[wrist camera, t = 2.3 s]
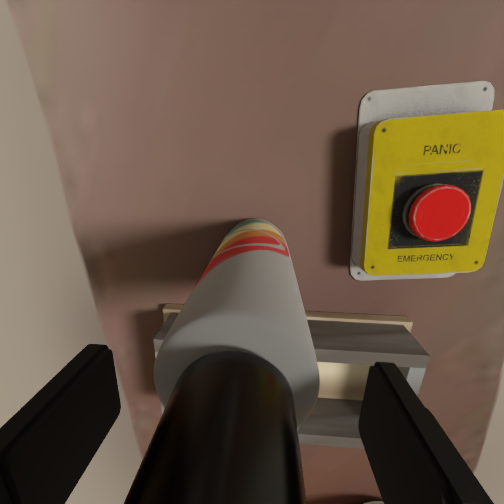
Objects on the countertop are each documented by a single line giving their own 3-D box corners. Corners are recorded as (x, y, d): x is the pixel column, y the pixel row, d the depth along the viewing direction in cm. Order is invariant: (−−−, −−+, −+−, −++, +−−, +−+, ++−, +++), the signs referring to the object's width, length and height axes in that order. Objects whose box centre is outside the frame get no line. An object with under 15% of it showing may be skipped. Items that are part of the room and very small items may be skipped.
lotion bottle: (234, 208, 22) (8, 495, 3) (297, 230, 22) (484, 625, 3) (215, 266, 23) (2, 683, 5) (274, 286, 24) (301, 753, 5)
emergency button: (364, 301, 20) (382, 73, 15) (347, 278, 24) (357, 93, 19) (493, 298, 19) (555, 57, 14) (452, 274, 23) (490, 81, 18)
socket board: (166, 303, 25) (143, 335, 20) (407, 316, 24) (441, 353, 19) (177, 423, 30) (160, 471, 25) (376, 437, 29) (397, 490, 24)
